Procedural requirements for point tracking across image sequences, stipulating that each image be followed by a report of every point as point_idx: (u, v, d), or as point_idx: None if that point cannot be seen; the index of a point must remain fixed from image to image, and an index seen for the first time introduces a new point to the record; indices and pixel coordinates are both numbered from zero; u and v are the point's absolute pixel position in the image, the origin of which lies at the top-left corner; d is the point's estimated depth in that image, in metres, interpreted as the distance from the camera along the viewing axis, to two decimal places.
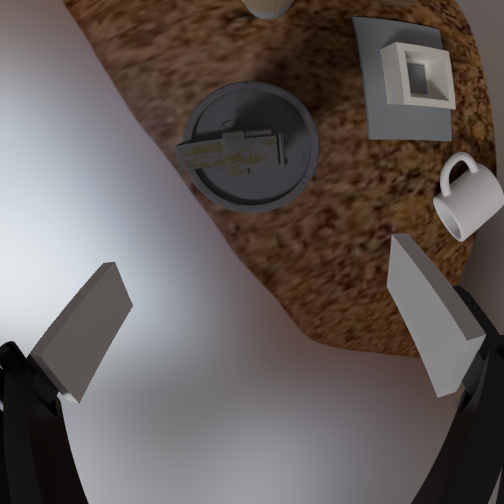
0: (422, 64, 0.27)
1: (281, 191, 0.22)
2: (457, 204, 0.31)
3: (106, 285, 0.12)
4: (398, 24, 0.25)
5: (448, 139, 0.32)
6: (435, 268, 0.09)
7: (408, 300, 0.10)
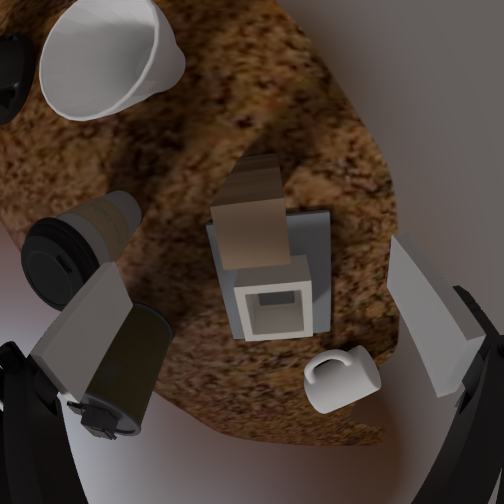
0: None
1: (128, 429, 0.29)
2: (316, 394, 0.38)
3: (106, 285, 0.12)
4: None
5: (325, 330, 0.39)
6: (435, 268, 0.09)
7: (408, 300, 0.10)
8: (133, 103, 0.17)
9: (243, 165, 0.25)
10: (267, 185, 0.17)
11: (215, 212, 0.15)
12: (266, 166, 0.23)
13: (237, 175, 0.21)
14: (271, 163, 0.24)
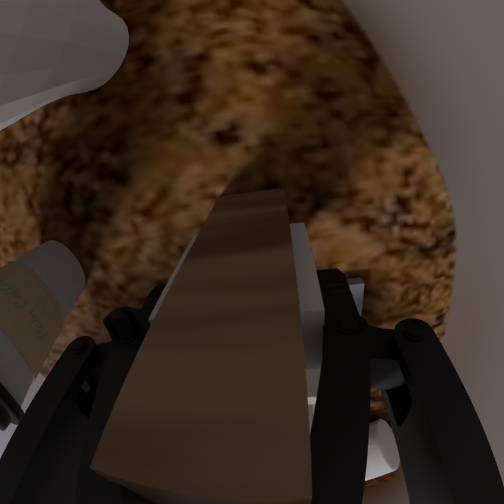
0: None
1: None
2: None
3: None
4: None
5: None
6: (309, 251, 0.11)
7: None
8: None
9: (219, 226, 0.13)
10: (261, 366, 0.06)
11: (109, 477, 0.04)
12: (263, 239, 0.11)
13: (196, 273, 0.09)
14: (274, 226, 0.12)
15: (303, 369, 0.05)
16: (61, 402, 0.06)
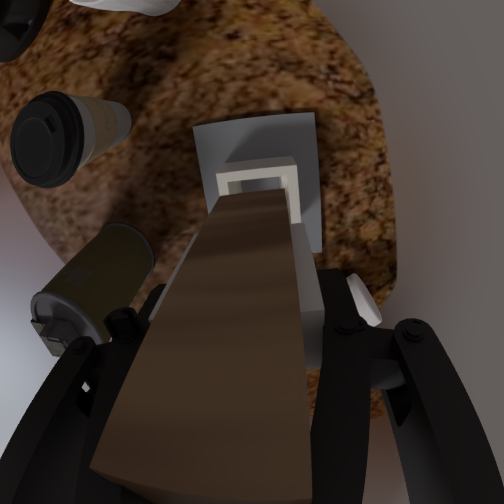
0: None
1: None
2: None
3: None
4: (250, 122, 0.30)
5: (317, 250, 0.37)
6: (309, 251, 0.11)
7: None
8: None
9: (219, 225, 0.13)
10: (261, 366, 0.06)
11: (108, 477, 0.04)
12: (263, 238, 0.11)
13: (196, 272, 0.09)
14: (274, 226, 0.12)
15: (303, 369, 0.05)
16: (61, 402, 0.06)
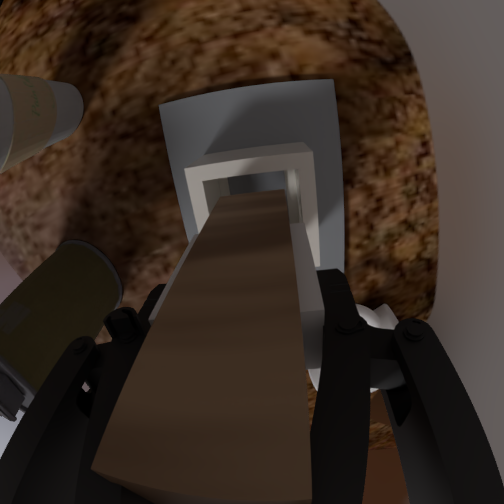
0: None
1: None
2: None
3: None
4: (241, 93, 0.19)
5: None
6: (309, 251, 0.11)
7: None
8: None
9: (219, 227, 0.13)
10: (261, 367, 0.06)
11: (110, 478, 0.04)
12: (263, 239, 0.11)
13: (196, 274, 0.09)
14: (274, 227, 0.12)
15: (303, 370, 0.05)
16: (61, 402, 0.06)
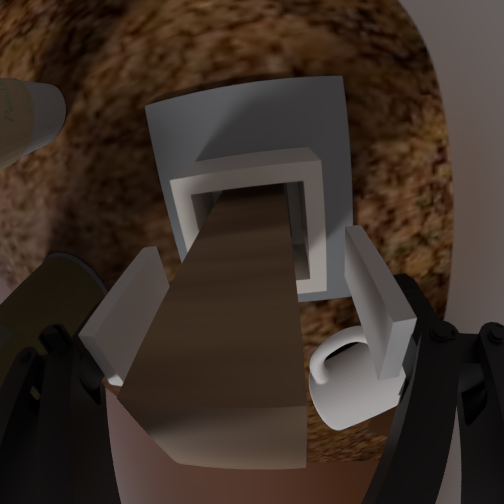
0: None
1: None
2: (329, 402, 0.23)
3: (150, 268, 0.13)
4: (237, 91, 0.17)
5: (343, 294, 0.24)
6: (378, 256, 0.10)
7: (356, 288, 0.11)
8: None
9: (224, 212, 0.15)
10: (263, 310, 0.07)
11: (133, 407, 0.05)
12: (264, 221, 0.13)
13: (207, 247, 0.11)
14: (273, 211, 0.14)
15: (297, 311, 0.07)
16: (15, 404, 0.05)
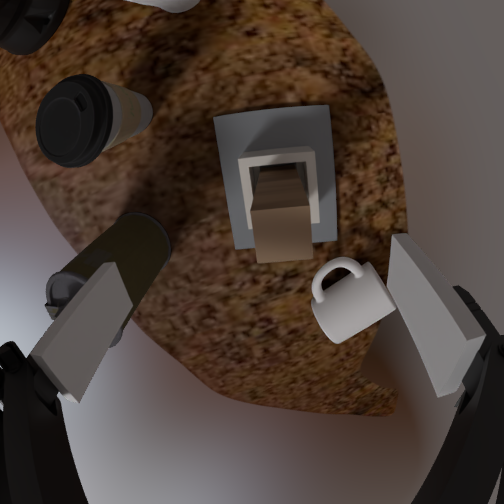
0: (294, 162, 0.33)
1: None
2: (326, 314, 0.37)
3: (106, 285, 0.12)
4: (269, 113, 0.31)
5: (332, 239, 0.38)
6: (435, 268, 0.09)
7: (408, 300, 0.10)
8: None
9: (267, 175, 0.29)
10: (293, 194, 0.21)
11: (254, 215, 0.19)
12: (288, 177, 0.27)
13: (264, 184, 0.25)
14: (291, 174, 0.28)
15: (305, 194, 0.21)
16: None
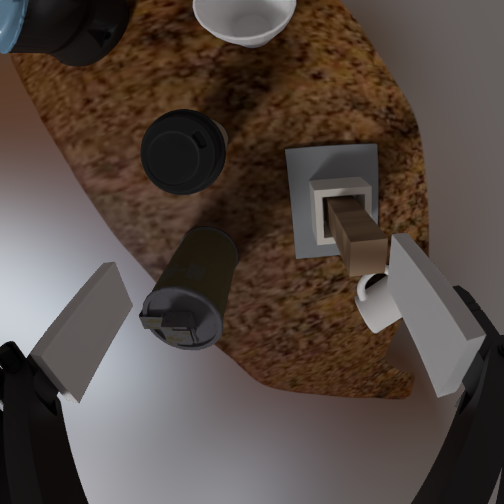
0: None
1: (203, 340, 0.36)
2: (368, 309, 0.45)
3: (106, 285, 0.12)
4: (331, 149, 0.38)
5: None
6: (435, 268, 0.09)
7: (408, 300, 0.10)
8: (266, 39, 0.24)
9: (336, 204, 0.36)
10: (371, 227, 0.29)
11: (353, 244, 0.27)
12: (355, 208, 0.34)
13: (342, 215, 0.33)
14: (356, 205, 0.35)
15: (378, 227, 0.29)
16: None
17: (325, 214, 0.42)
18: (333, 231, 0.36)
